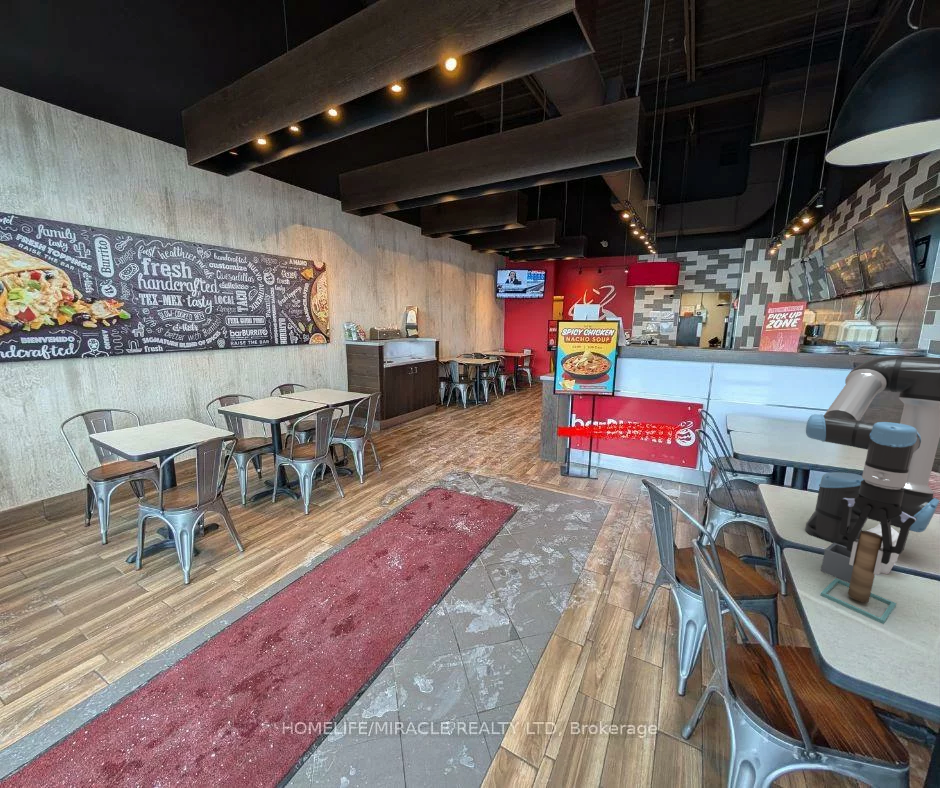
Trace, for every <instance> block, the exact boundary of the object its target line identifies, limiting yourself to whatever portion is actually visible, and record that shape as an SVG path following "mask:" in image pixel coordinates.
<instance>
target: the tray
mask: <svg viewBox="0 0 940 788" xmlns="http://www.w3.org/2000/svg"><path fill="white" fill-rule="evenodd" d="M838 584H839V585H841V586H844V587H846V588H848V589H849V585H850V583H848V582H846V581H843V580H841V579H839V578H836V577H834V579H833V580H832V581H831V582H830V583H829V584H827V586H826V587H825V588H824V589H823V590H822V591H821V592H820V595H819V596H821V597H822V598H825V599H826V600H829V601H831V602H834V603H836V604H839V605H840V606H843V607H845V608H847V609H850V610H852V611H854V612H856V613H858V614H860V615H862V616H865V617H867V618H869V619H871V620H873V621H876V622H878V623H879V624H882V625H884V624H885V623H886V621H887V620H888V619H889V617H891V616H890V615H891V614H892V613H893V611H894V609H895V608H896V606H897V603H896V602H895V601H892V600H889V599H887V598H885V597H882V596H881V595H878V594H875V593H873V592H871V594H870V598H872V599H874V600H877V601H878V602H882V603H884V604H886V605H888V606H887V608H886V609H885V611H884V612H883V613H882V615H881V616H878V615H876V614H873V613H871V612H869V611H866V610H864V609H862V608H859V607H858V606H855V605H853V604H850V603H848V602H846V601H844V600H842V599H839V598H837V597H835V596H832V595H830V592H831V591H832V590H833V589H834V588H836V586H837V585H838Z"/></svg>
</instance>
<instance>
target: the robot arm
mask: <svg viewBox="0 0 940 788" xmlns="http://www.w3.org/2000/svg"><path fill="white" fill-rule="evenodd" d="M844 383H845V385H844V387H843V388H842V389H841V390H840V392H839V393H838V395H837V397H836V398H835V399H834V400H833V401H832V403H831V405H829V408H828V409H827V410H826V412H825V413H824V414H821V413H820V414H816V413H814V414H811V415H810V416H809V417H808V419H807V421H806V427H805V434H806V437H808V438H809V439H811V440H817V441H821V442H822V443H825V442H826V443H830V444H836V445H842V446H847V447H854V448H857V449H863V450H867V451H866V459H865V462H864V466H863V470H862V475H861V474H857V473H851V472H839V471H837V472H836V471H835V472H834V471H833V472H832V471H831V472H826V473H825V474H823V475H822V476H821V478H820V483H819V485H818V486H819V487H818V488H819V489H818V494H817V500H816V504H815V510H814V512H813V513H812V515H811V516H810V517H809V519H808V520H807V521H806V522H805V523H806V524H805V528H804V529H805V532H806V533H807V534H809V535H810V536H812V537H814V538H817V539H821V540H823V541H826V542H828V543H831V544H832V543H833V542H834V543H837V544H840V545H842V546H845V547H847V550H848V551H851V557H850V562H849V564H850V565H852V566H853V565H854V561H855V557H856V552H857V547H858V542H859V537H860V533H861V531H863V528H864V527H865V524H866V522H867V521H868V520H872V521H875V522H879V524H881V529H882V541H883V548H882V547H881V549H880V550H879V551H878V556H877V560H876V565H875V569H874V574H875V576H878V575H880V574H881V573H880V572H881V568H882V563H884V564H887V563H888V562H889V561H890V557H891V553H897V554H899V555H901V554H902V553H903V551H904V550H905V548H906V547H905V546H906V544H907V540H908V537H909V534H910V532H914V533H923V532H924V531H926V529H928V526H929V524H930V522H931V520H932V518H933V516H934V515H935V512H936V510H937V509H938V506H939V504H940V499H938V498H937V497H934V494H935V491H933V490H932V488H931V487H930V486H929V481H930V478H931V474H932V469H933V466H934V461H935V458H936V454H937V449H938V445H939V441H940V357H923V356H921V357H920V356H918V357H917V356H899V355H890V356H889V355H887V356H881V357H877V358H873V359H870V360H868V361H865V362H863V363H861V364H858V365H857V366H856V367H854V368H853V369H852V370H851V371H850V372H849V373H848V374H847V376H846V377H845V381H844ZM881 392H890V393H898V394H899V395H898V399H899V400H900V401H901V402H902V403H903V408H902V409H903V410H902V413H901V417H900V420H899V421H900V422H890V421H889V422H888V421H877V422H870V421H864V420H861V419H862V418H863V416H864V414H865V413H866V411H867V410H868V409H869V407H870V405H871V404H872V402H873V400H874V399H875V397H876V396H877V395H879V394H880V393H881ZM891 527H896V528H899V529H900V530H899V531H898V533H899V536H898V539H897V543H896V546H892V535H891Z"/></svg>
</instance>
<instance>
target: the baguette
mask: <svg viewBox="0 0 940 788" xmlns="http://www.w3.org/2000/svg"><path fill="white" fill-rule="evenodd" d="M881 544H882V536H880V535H878V534H876V533H873V532H869V531H867V530H862V531H861V533H860V537H859V542H858V547H857V552H856V557H855V561H854V566H853V571H852V576H851V580H850V583H849V584H850V585H849V588H848V590H847V595H848V596H849V598H852V599H853V600H855V601H856V602H857V601H858V602H862V603H869V602H870V598H871V597H870V594H871V593H872V589H873V584H874V580H875V576H876V574H874V569H875V565H876V560H877V556H878V551H879V550H880V549H881Z"/></svg>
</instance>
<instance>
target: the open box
mask: <svg viewBox="0 0 940 788" xmlns="http://www.w3.org/2000/svg"><path fill="white" fill-rule="evenodd" d="M850 557H851V551H848V550H847V547H845V546H842V545H840V544H837V543H834V542H833V543H831V544H830V545H828V547H826V548H825V549H824V552H823V558H822V564H821V567H820V568H821V569H820V572H822V573H824V574H827V575H829V576H832V577H834V578H837V579H839V580H842V581H844V582H847V583H849V584H850V580H851V576H852V571H853V566H854V565H853V566H852V565H850V564H849V562H850Z"/></svg>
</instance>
